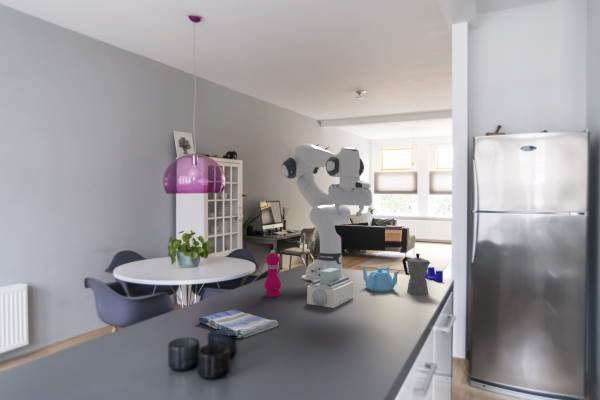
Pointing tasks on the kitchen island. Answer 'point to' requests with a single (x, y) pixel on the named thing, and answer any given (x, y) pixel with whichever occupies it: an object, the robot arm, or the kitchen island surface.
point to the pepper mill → (272, 275)
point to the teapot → (380, 280)
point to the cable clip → (434, 275)
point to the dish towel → (238, 322)
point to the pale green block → (329, 275)
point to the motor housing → (330, 292)
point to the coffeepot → (416, 275)
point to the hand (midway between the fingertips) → (348, 215)
